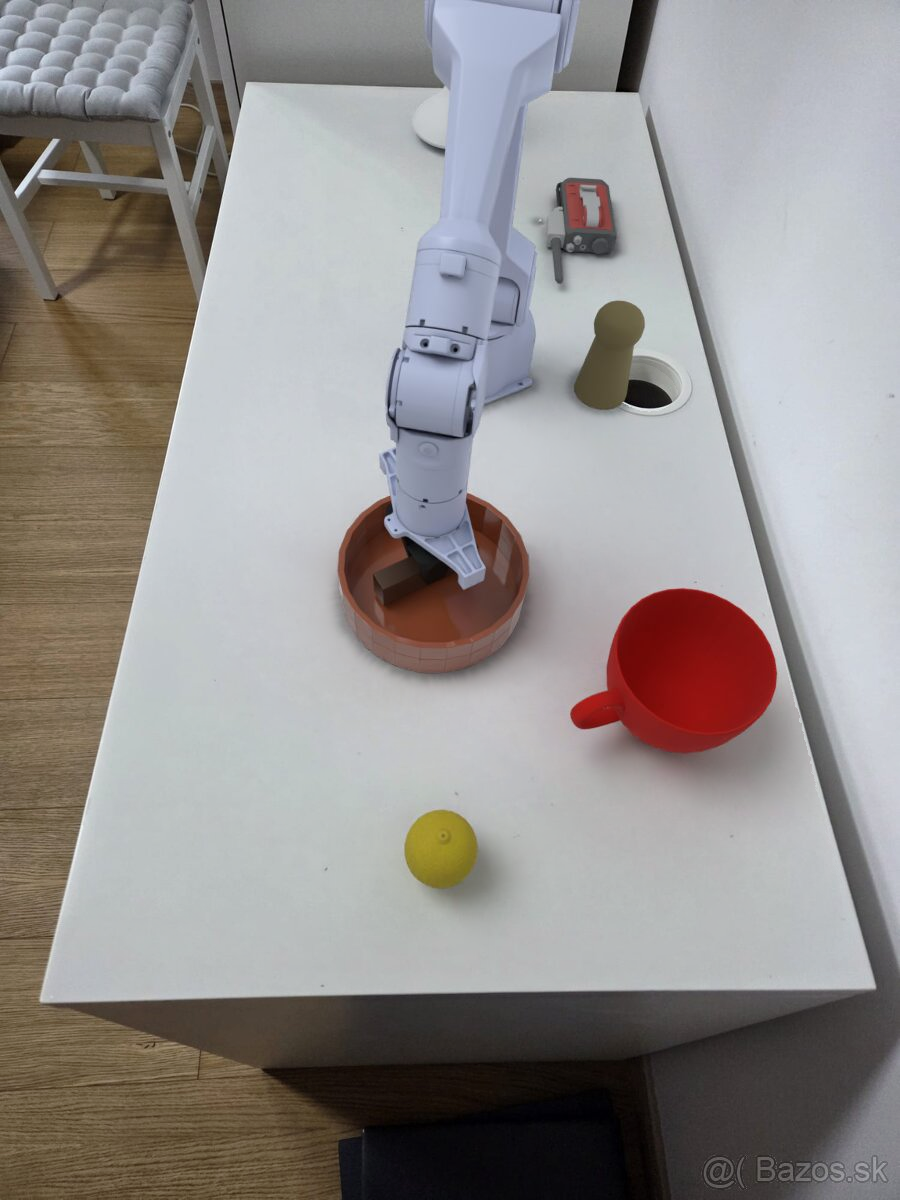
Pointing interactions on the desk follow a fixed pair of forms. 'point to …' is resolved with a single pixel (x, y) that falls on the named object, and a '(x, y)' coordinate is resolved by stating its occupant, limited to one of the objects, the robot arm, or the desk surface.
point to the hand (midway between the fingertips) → (427, 567)
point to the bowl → (434, 595)
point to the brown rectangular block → (400, 580)
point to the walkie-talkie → (580, 220)
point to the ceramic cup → (684, 673)
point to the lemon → (441, 849)
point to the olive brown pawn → (610, 356)
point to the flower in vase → (433, 119)
